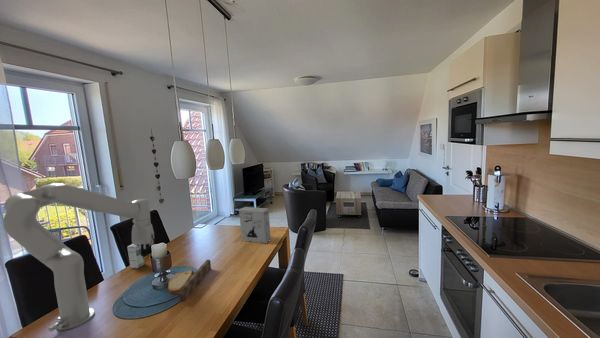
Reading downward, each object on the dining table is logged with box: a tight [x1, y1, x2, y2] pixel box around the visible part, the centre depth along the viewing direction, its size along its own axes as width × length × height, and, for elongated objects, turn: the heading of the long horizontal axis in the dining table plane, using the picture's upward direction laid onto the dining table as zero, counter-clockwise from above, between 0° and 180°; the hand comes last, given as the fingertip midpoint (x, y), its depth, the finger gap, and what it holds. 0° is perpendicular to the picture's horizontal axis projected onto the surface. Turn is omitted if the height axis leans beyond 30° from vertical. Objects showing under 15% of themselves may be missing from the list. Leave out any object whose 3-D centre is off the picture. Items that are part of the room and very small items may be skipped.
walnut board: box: [178, 259, 212, 302], centre depth 134 cm, size 30×2×6 cm, turn 176°
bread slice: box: [167, 269, 195, 295], centre depth 136 cm, size 18×18×4 cm
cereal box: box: [238, 206, 271, 244], centre depth 188 cm, size 22×8×25 cm, turn 67°
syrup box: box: [126, 243, 146, 269], centre depth 158 cm, size 6×6×14 cm
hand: (144, 255), depth 134 cm, fingers closed
